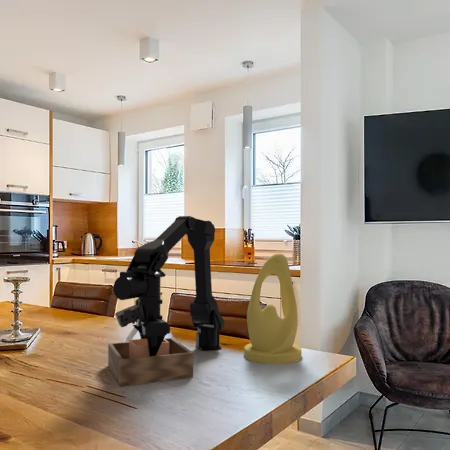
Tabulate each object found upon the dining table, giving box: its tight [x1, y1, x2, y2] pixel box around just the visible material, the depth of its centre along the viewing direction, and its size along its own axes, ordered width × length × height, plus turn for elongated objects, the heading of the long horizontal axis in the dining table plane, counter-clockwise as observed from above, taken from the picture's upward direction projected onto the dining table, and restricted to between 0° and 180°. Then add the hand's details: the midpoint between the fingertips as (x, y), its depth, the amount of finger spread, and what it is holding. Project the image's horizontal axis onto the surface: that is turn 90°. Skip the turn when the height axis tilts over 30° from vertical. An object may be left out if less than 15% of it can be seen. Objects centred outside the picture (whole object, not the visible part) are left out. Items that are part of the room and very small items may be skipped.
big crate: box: [107, 337, 194, 387], centre depth 117 cm, size 18×18×6 cm
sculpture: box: [243, 253, 302, 365], centre depth 133 cm, size 17×17×30 cm
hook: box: [123, 326, 139, 342], centre depth 131 cm, size 8×12×7 cm
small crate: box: [129, 337, 169, 359], centre depth 117 cm, size 9×6×5 cm
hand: (149, 355), depth 117 cm, fingers closed on small crate, 6 cm apart
